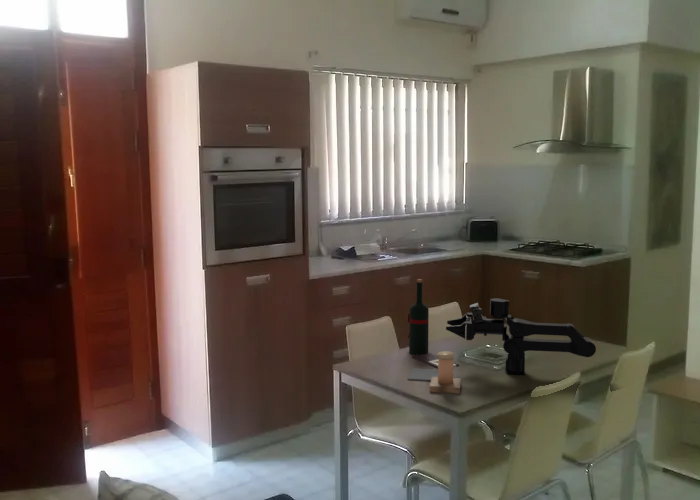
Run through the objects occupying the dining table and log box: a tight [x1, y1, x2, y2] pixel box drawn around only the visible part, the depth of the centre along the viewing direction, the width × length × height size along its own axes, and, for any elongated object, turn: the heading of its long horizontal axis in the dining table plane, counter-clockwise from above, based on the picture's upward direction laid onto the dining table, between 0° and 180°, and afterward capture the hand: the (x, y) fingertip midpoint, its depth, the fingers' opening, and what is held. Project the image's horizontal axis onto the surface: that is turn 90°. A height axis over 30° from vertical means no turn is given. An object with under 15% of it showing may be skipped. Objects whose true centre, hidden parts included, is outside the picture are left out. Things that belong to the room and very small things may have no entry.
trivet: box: [429, 377, 462, 394], centre depth 230 cm, size 10×10×2 cm
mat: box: [407, 368, 438, 382], centre depth 243 cm, size 14×12×1 cm
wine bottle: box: [407, 278, 430, 356], centre depth 272 cm, size 8×10×30 cm
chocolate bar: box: [411, 352, 460, 369], centre depth 260 cm, size 9×1×18 cm
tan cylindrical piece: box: [437, 351, 455, 385], centre depth 229 cm, size 6×6×10 cm
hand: (446, 325), depth 249 cm, fingers open, 9 cm apart
